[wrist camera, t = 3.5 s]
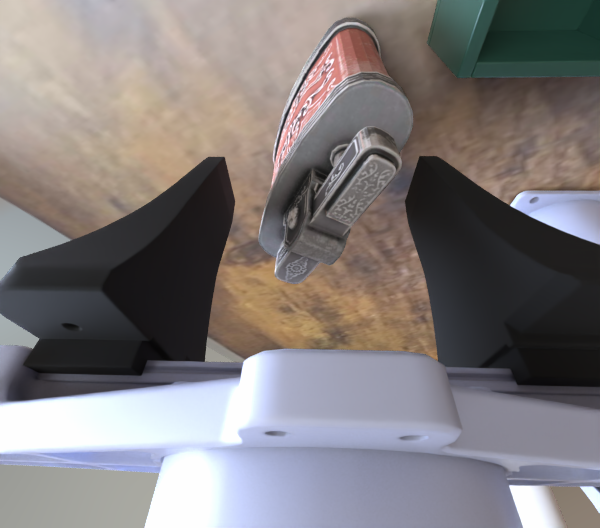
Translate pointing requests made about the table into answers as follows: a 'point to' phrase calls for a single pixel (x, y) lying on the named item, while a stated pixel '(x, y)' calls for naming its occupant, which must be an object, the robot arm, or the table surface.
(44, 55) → the table surface
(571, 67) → the green open box
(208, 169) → the robot arm
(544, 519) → the cylindrical container
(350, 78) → the lighter
